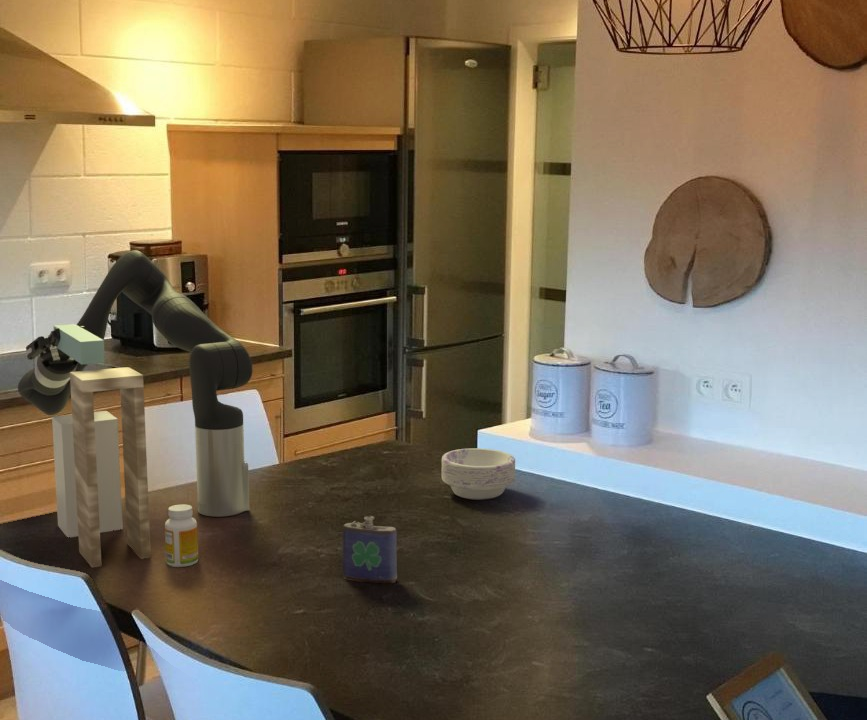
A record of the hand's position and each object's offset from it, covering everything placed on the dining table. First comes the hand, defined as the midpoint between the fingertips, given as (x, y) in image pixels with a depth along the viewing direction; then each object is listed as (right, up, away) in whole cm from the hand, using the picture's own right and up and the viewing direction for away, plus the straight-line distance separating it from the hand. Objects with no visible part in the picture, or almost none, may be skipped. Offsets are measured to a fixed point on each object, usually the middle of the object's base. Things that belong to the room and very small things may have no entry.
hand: (70, 331), depth 212 cm
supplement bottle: (+25, -40, -19) cm, 51 cm away
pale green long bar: (+3, -4, -4) cm, 7 cm away
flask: (+57, -41, -27) cm, 76 cm away
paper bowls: (+77, -33, +22) cm, 87 cm away
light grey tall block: (+4, -37, 0) cm, 37 cm away
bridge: (+12, -39, -15) cm, 44 cm away
